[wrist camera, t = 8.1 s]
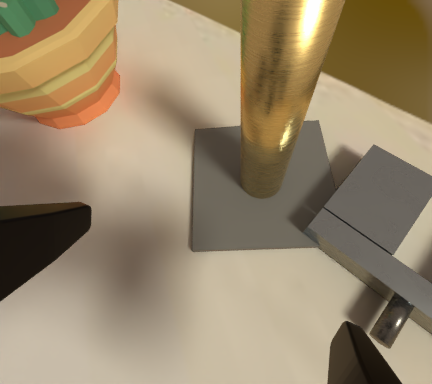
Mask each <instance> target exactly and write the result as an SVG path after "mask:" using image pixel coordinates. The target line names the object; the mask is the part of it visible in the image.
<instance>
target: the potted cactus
mask: <svg viewBox="0 0 432 384" xmlns="http://www.w3.org/2000/svg"><path fill="white" fill-rule="evenodd" d="M117 17H118V0H0V107H1V108H4V109H8V110H11V111H14V112H18V113H21V114H25V115H31V116H35V117H36V118H37V120H38V121H39V123H41V124H44V125H48V126H51V127H54V128H58V129H63V128H68V127H74V126H79V125H85V124H86V123H88V122H90V121H91V120H93V119H94V118H96V117H98V116H99V115H101V114H103V113H104V112H106V111H107V110H108V109H109V107H110V106H111V104H112V103H113V102H114V100H115V99H116V97H117V96H118V94H119V93H120V75H119V74H118V73H117V72H116V71H115V66H116V61H117V33H116V25H115V24H116V23H117Z"/></svg>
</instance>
